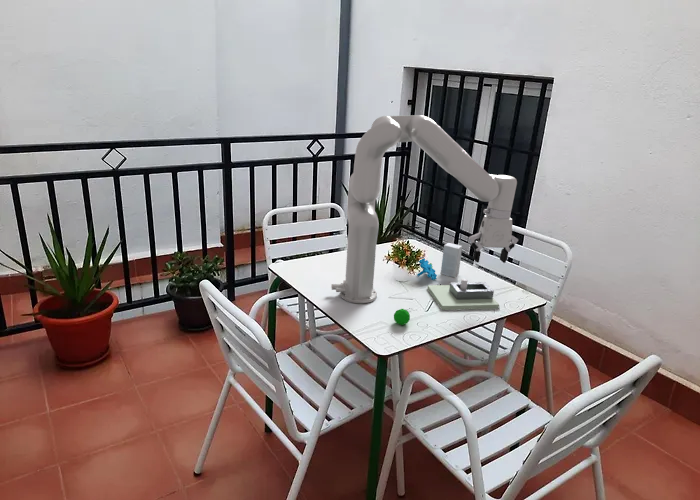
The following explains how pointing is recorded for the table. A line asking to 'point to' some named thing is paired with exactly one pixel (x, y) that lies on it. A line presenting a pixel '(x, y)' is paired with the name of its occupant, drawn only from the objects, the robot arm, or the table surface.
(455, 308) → the keeper board
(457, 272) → the skincare box
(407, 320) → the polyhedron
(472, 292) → the grey hollow rectangular box
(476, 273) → the table surface
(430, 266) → the blue lumpy piece
